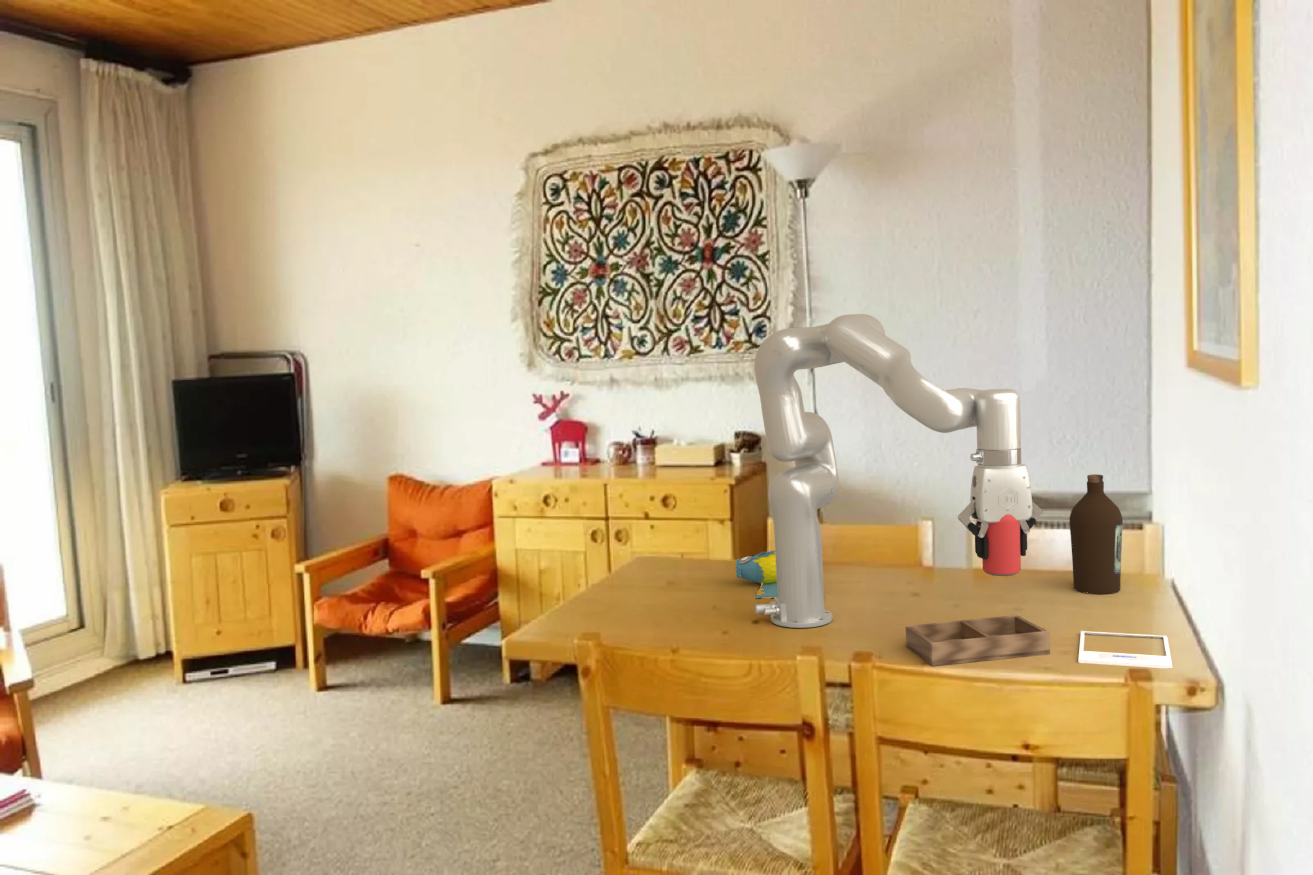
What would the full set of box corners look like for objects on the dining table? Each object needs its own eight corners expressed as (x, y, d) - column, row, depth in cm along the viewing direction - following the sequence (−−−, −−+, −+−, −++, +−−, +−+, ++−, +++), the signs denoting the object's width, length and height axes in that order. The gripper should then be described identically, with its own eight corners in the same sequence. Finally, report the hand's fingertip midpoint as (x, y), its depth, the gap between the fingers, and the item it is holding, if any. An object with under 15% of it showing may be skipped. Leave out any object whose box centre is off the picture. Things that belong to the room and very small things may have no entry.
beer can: (1013, 567, 197) (1011, 503, 195) (1026, 575, 190) (1025, 509, 189) (977, 569, 196) (976, 505, 195) (990, 578, 190) (988, 511, 189)
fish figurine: (791, 563, 236) (724, 564, 240) (793, 601, 237) (727, 602, 241) (806, 538, 263) (745, 539, 267) (808, 572, 264) (748, 573, 268)
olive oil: (1069, 594, 229) (1067, 478, 226) (1071, 582, 239) (1069, 471, 236) (1123, 596, 225) (1122, 479, 222) (1123, 584, 234) (1122, 471, 232)
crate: (932, 666, 186) (931, 644, 186) (906, 647, 198) (905, 626, 198) (1049, 654, 189) (1049, 632, 189) (1017, 635, 201) (1016, 615, 201)
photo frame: (1078, 658, 184) (1080, 630, 200) (1078, 664, 184) (1081, 635, 201) (1172, 664, 178) (1167, 634, 195) (1172, 671, 178) (1167, 640, 195)
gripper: (962, 464, 186) (965, 564, 188) (1055, 457, 189) (1056, 556, 190) (944, 459, 194) (947, 556, 195) (1033, 452, 196) (1035, 548, 198)
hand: (1001, 555), depth 193 cm, fingers closed on beer can, 6 cm apart
